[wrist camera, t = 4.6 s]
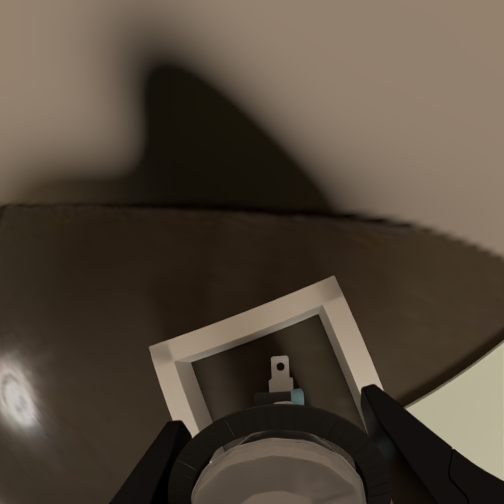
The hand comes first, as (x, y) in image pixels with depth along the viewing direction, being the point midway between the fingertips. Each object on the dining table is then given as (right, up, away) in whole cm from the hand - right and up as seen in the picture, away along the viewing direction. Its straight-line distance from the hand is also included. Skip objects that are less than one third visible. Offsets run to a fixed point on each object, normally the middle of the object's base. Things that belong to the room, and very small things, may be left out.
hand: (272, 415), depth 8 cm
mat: (+13, -6, +3) cm, 14 cm away
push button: (+1, -4, +6) cm, 7 cm away
